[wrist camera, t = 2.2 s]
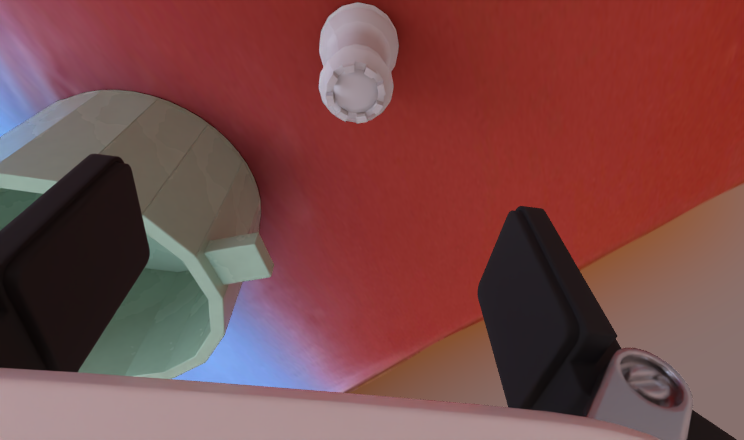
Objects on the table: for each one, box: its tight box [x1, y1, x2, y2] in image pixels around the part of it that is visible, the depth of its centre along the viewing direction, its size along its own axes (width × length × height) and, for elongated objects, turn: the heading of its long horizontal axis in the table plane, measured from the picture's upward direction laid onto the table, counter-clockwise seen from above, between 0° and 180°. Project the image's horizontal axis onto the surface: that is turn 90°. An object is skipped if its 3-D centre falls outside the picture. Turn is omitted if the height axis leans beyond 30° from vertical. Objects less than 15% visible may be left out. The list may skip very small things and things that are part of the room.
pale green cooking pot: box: [0, 90, 274, 379], centre depth 26 cm, size 16×21×10 cm
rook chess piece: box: [319, 2, 399, 124], centre depth 21 cm, size 4×4×8 cm
